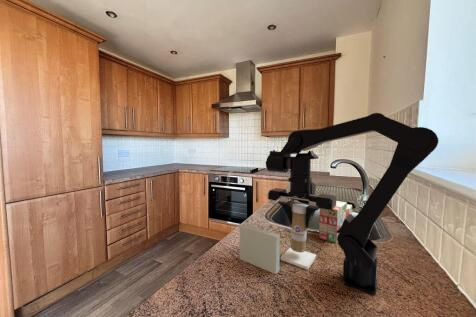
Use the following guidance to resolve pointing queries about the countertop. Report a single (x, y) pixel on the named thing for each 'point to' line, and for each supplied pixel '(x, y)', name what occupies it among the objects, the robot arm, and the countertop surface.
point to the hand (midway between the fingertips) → (299, 226)
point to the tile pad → (299, 258)
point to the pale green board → (260, 248)
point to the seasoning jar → (298, 228)
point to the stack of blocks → (333, 220)
